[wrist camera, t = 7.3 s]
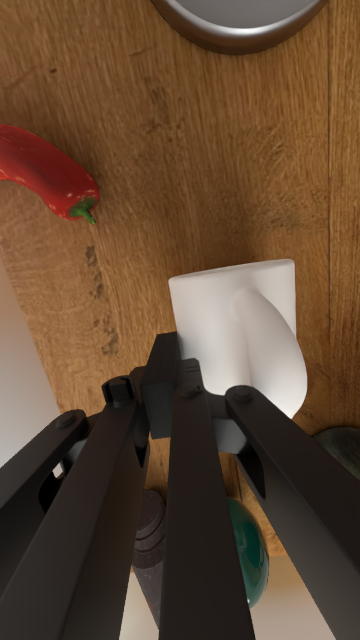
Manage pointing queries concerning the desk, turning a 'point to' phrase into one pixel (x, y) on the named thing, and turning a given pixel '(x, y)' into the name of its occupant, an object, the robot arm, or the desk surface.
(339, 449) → the mug
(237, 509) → the sphere
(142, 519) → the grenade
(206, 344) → the mug
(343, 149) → the desk surface
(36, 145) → the vegetable
